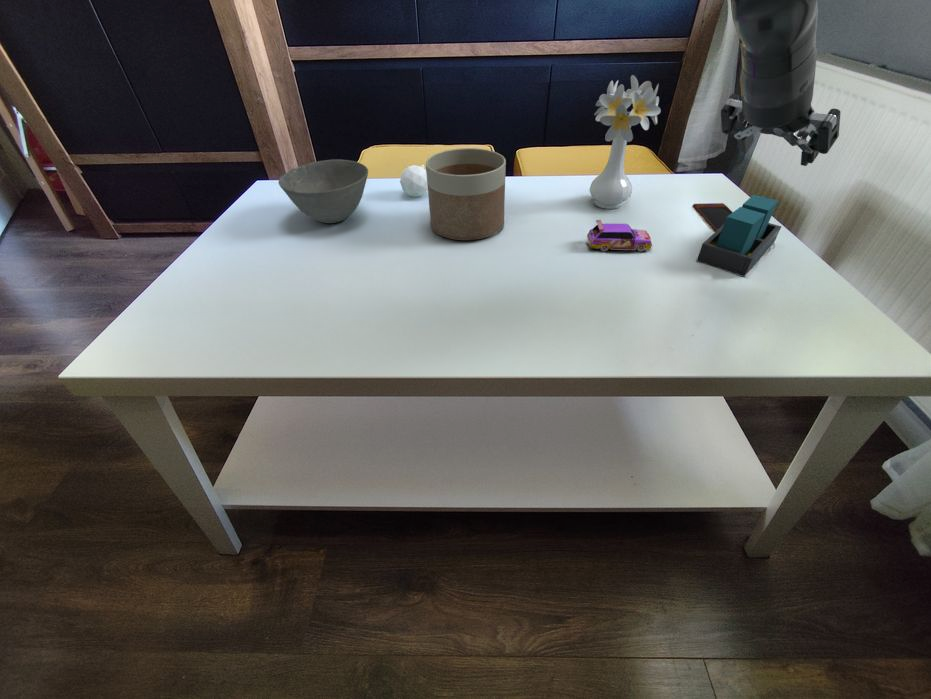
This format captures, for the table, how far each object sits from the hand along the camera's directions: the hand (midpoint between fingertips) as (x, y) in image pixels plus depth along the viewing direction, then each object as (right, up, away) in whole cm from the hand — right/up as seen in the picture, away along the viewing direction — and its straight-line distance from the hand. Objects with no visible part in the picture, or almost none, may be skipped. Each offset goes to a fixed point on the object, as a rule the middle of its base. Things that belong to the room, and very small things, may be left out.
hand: (776, 153), depth 68 cm
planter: (-46, -3, +30) cm, 56 cm away
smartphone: (+8, -2, +30) cm, 31 cm away
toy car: (-16, -9, +22) cm, 29 cm away
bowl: (-77, 0, +35) cm, 85 cm away
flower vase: (-13, +4, +36) cm, 39 cm away
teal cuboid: (+8, -8, +21) cm, 24 cm away
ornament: (-59, +8, +44) cm, 74 cm away
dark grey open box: (+5, -11, +19) cm, 22 cm away
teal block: (+3, -12, +16) cm, 21 cm away
